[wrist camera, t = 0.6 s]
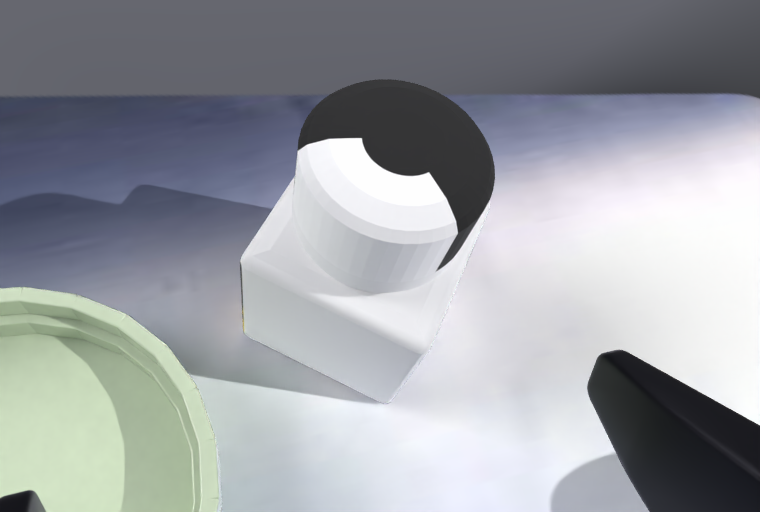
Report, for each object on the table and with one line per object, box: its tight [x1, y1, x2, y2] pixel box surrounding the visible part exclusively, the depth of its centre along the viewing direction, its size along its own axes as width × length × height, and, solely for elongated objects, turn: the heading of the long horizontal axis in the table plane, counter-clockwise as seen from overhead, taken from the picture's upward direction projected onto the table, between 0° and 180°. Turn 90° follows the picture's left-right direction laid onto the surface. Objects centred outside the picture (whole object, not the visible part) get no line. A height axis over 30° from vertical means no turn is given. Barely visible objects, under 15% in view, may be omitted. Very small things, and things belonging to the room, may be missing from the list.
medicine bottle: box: [240, 80, 495, 404], centre depth 23 cm, size 7×7×12 cm
